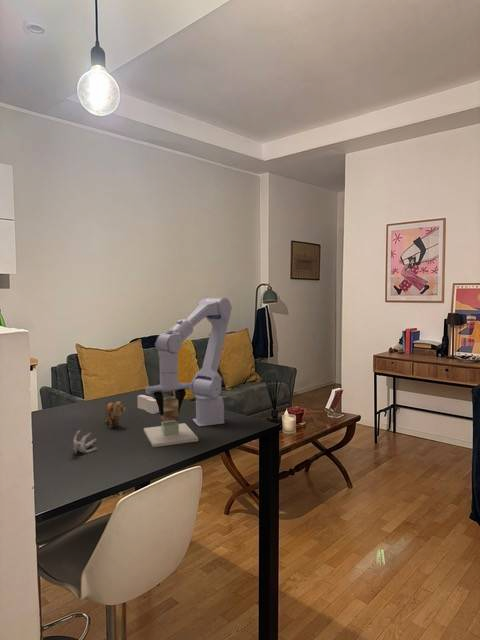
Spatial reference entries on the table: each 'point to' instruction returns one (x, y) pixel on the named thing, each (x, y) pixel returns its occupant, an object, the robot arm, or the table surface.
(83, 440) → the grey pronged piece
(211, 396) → the robot arm
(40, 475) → the table surface
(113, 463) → the table surface
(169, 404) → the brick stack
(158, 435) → the board
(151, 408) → the beige rectangular block
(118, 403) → the lion figurine
